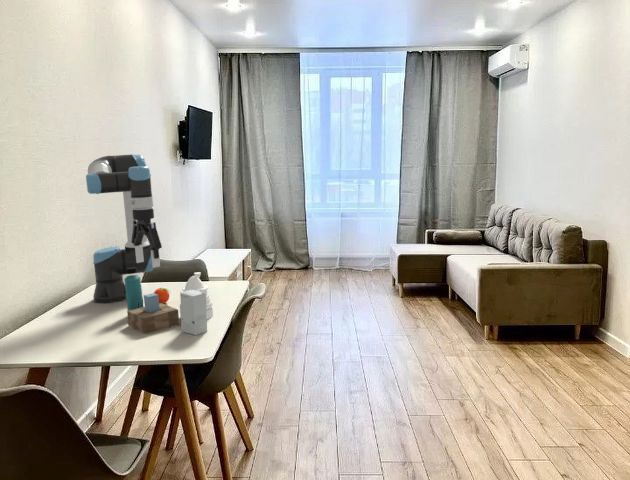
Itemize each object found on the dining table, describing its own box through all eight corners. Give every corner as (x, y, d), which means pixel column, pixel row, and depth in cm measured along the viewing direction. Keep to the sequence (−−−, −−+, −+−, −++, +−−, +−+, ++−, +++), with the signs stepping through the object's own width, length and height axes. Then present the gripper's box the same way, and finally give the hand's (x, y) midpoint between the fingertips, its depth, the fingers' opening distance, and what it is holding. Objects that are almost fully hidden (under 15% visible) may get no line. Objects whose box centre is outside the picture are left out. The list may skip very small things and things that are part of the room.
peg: (146, 325, 216) (143, 295, 214) (156, 323, 219) (153, 293, 217) (151, 327, 213) (148, 297, 211) (161, 325, 216) (158, 294, 214)
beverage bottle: (139, 318, 226) (134, 269, 223) (124, 317, 228) (119, 269, 224) (147, 313, 233) (142, 265, 229) (132, 313, 234) (128, 265, 231)
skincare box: (181, 331, 207) (178, 292, 205) (194, 327, 212) (191, 288, 209) (195, 335, 202) (192, 295, 199) (209, 331, 206) (206, 291, 204)
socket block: (128, 325, 217) (127, 310, 216) (162, 317, 226) (160, 302, 225) (144, 333, 206) (143, 318, 205) (179, 324, 216) (177, 309, 215)
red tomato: (174, 301, 249) (173, 285, 248) (169, 305, 243) (167, 289, 241) (157, 301, 250) (155, 286, 249) (151, 306, 243) (149, 290, 242)
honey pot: (219, 313, 228) (216, 270, 225) (200, 323, 217) (196, 277, 214) (193, 310, 233) (190, 268, 230) (173, 320, 222) (169, 275, 219)
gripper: (119, 207, 215) (124, 261, 219) (148, 211, 197) (153, 271, 201) (137, 205, 220) (142, 258, 224) (168, 209, 202) (173, 267, 206)
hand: (148, 264), depth 212 cm, fingers open, 13 cm apart
